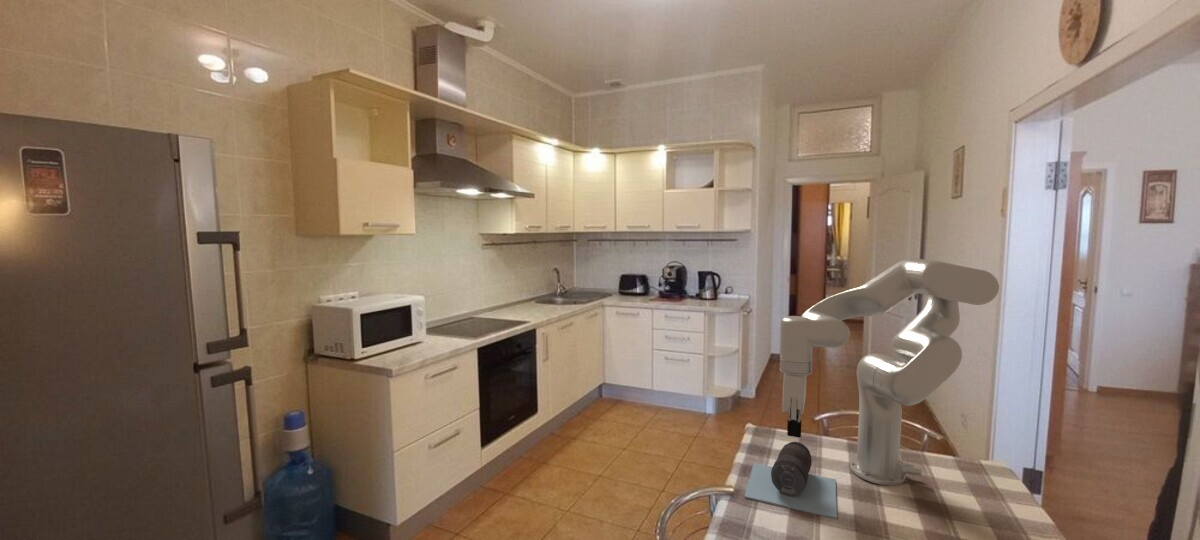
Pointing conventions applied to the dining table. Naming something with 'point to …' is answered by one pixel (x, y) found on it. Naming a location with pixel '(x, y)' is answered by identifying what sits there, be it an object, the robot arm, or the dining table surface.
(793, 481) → the camera lens
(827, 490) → the blue mat
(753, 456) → the dining table surface
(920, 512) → the dining table surface
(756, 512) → the dining table surface
